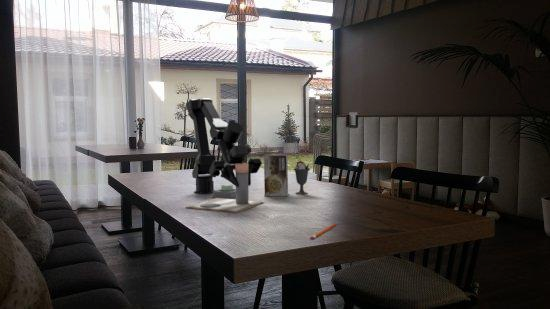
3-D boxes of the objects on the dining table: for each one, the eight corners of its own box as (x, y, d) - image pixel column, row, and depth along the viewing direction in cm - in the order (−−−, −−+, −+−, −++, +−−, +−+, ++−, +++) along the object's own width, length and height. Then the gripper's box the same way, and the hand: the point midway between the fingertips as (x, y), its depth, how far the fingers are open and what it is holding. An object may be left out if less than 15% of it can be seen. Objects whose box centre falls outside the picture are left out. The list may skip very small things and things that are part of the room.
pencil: (310, 240, 113) (310, 236, 113) (336, 224, 129) (336, 221, 129) (313, 240, 112) (313, 237, 112) (339, 224, 129) (338, 221, 129)
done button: (219, 192, 174) (219, 185, 174) (225, 190, 178) (225, 184, 178) (229, 192, 172) (229, 186, 172) (234, 191, 176) (234, 184, 176)
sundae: (290, 193, 183) (290, 156, 182) (304, 191, 186) (304, 155, 185) (298, 195, 177) (297, 157, 176) (312, 194, 180) (312, 156, 179)
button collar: (213, 197, 174) (212, 191, 173) (223, 194, 181) (223, 188, 181) (230, 198, 170) (230, 192, 170) (241, 195, 177) (241, 189, 177)
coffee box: (288, 193, 181) (288, 153, 180) (287, 196, 175) (287, 155, 174) (265, 193, 182) (265, 153, 181) (263, 196, 176) (263, 155, 175)
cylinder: (233, 204, 157) (232, 164, 156) (239, 201, 161) (239, 162, 160) (244, 205, 155) (244, 164, 154) (251, 202, 159) (250, 163, 158)
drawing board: (185, 208, 153) (185, 206, 153) (216, 199, 170) (216, 197, 170) (236, 213, 144) (236, 210, 144) (263, 203, 162) (263, 201, 161)
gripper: (212, 137, 154) (226, 172, 146) (259, 136, 164) (275, 169, 156) (203, 158, 162) (216, 193, 153) (249, 156, 171) (264, 188, 163)
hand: (243, 185), depth 156 cm, fingers closed on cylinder, 4 cm apart
